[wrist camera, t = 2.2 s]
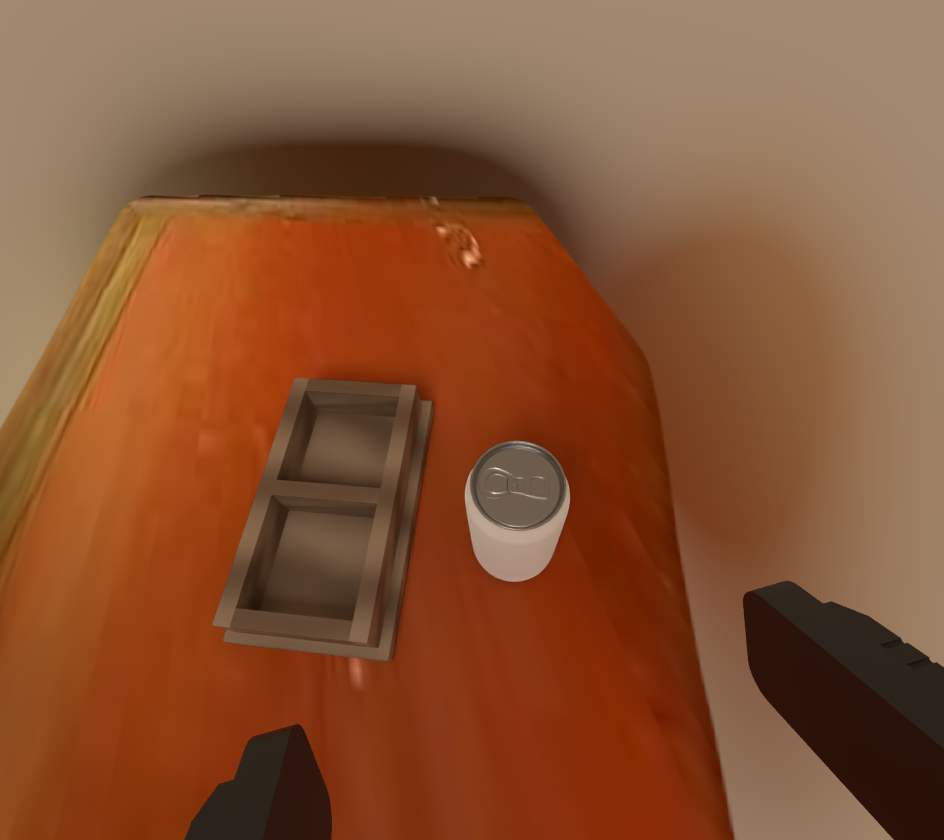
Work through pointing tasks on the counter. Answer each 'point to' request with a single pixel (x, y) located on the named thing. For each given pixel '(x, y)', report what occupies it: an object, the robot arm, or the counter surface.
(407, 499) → the tray
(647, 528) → the counter surface
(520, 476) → the can
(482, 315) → the counter surface
